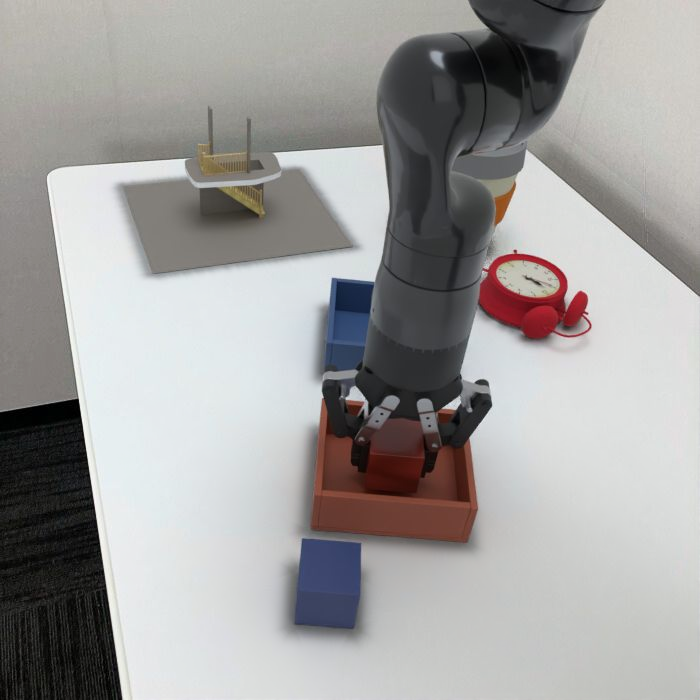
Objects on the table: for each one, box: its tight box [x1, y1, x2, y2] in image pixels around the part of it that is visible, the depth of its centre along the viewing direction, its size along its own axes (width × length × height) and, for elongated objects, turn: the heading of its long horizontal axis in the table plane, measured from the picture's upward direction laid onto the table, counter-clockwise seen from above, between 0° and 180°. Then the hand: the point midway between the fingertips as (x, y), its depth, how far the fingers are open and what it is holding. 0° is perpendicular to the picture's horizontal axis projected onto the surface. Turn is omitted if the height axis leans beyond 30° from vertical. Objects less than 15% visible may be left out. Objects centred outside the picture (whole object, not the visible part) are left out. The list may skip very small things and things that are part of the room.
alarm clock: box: [478, 249, 593, 340], centre depth 89 cm, size 10×6×15 cm
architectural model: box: [122, 105, 354, 275], centre depth 96 cm, size 21×25×14 cm
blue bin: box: [323, 277, 375, 371], centre depth 82 cm, size 13×11×4 cm
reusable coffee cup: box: [451, 140, 528, 242], centre depth 96 cm, size 13×13×15 cm
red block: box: [364, 418, 425, 493], centre depth 66 cm, size 4×4×4 cm
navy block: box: [293, 537, 362, 629], centre depth 58 cm, size 4×4×4 cm
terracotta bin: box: [310, 397, 479, 543], centre depth 67 cm, size 13×11×4 cm
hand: (391, 467), depth 67 cm, fingers closed on red block, 4 cm apart
